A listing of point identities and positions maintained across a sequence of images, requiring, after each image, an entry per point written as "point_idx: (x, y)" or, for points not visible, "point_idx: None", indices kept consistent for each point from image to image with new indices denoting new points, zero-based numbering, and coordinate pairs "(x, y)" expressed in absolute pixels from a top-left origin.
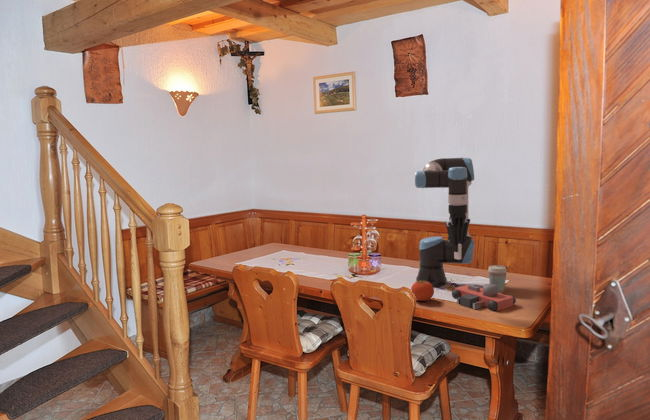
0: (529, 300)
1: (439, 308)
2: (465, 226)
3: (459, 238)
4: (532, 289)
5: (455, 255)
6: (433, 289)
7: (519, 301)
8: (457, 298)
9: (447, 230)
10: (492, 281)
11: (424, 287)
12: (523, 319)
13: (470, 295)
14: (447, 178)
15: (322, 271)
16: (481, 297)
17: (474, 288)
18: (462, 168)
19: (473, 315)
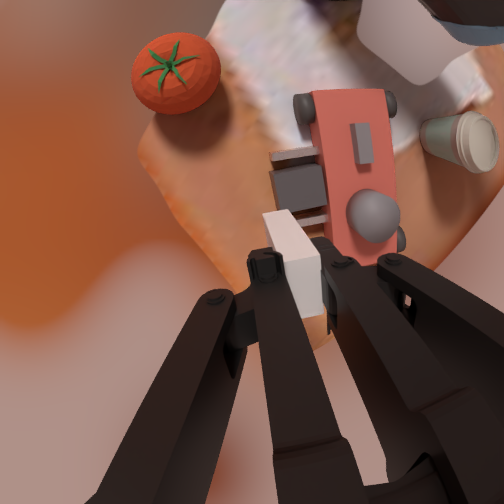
0: (437, 232)
1: (188, 169)
2: (492, 407)
3: (340, 329)
4: (487, 176)
5: (267, 234)
6: (205, 97)
7: (418, 226)
8: (271, 157)
9: (126, 440)
10: (439, 140)
11: (157, 102)
12: None
13: (312, 180)
14: None
15: None
16: (330, 212)
17: (357, 153)
18: None
19: (245, 262)
